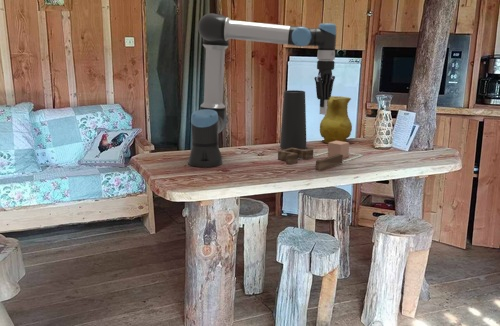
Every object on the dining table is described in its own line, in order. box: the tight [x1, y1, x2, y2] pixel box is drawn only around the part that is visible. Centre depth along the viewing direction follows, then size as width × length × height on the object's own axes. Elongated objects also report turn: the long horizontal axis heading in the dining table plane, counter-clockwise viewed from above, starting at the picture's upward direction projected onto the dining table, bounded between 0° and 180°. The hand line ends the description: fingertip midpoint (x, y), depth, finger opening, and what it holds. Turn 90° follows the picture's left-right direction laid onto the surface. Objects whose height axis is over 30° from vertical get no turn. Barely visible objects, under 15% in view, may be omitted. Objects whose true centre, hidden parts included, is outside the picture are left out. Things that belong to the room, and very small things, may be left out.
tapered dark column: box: [279, 89, 307, 150], centre depth 249 cm, size 14×14×29 cm
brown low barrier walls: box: [277, 148, 344, 172], centre depth 221 cm, size 26×18×4 cm
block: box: [327, 141, 350, 159], centre depth 231 cm, size 7×7×7 cm
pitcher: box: [319, 95, 353, 144], centre depth 264 cm, size 17×19×25 cm
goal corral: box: [313, 151, 364, 163], centre depth 233 cm, size 17×16×1 cm
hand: (322, 114), depth 218 cm, fingers closed
